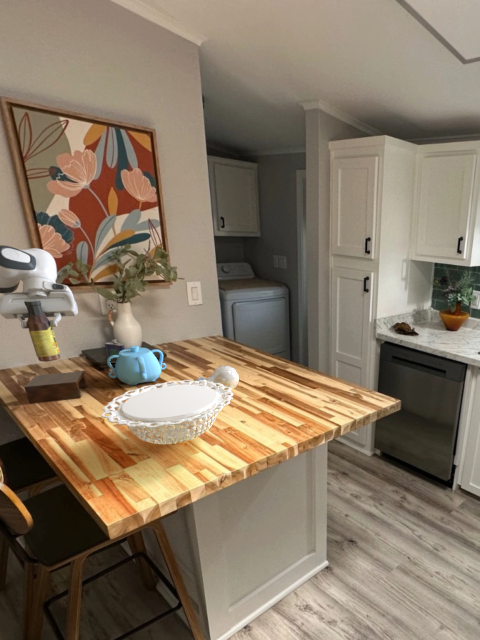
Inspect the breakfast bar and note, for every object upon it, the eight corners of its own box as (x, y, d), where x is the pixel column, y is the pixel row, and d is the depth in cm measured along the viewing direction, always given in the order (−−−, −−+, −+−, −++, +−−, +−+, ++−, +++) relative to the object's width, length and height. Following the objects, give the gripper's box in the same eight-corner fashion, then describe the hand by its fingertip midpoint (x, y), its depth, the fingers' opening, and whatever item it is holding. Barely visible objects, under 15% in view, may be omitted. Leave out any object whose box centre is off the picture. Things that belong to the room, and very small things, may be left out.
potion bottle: (243, 391, 155) (203, 404, 147) (231, 371, 158) (191, 384, 149) (244, 376, 148) (203, 390, 140) (232, 357, 151) (191, 369, 142)
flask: (107, 363, 175) (102, 339, 171) (113, 361, 178) (108, 337, 174) (125, 366, 173) (119, 341, 169) (130, 364, 176) (125, 339, 172)
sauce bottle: (65, 359, 139) (49, 300, 132) (43, 363, 134) (25, 302, 127) (55, 355, 142) (40, 298, 135) (34, 359, 137) (16, 300, 130)
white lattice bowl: (206, 408, 136) (200, 372, 132) (260, 440, 118) (256, 399, 113) (94, 442, 113) (83, 400, 109) (140, 488, 95) (128, 440, 90)
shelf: (29, 403, 135) (24, 387, 133) (40, 391, 145) (35, 375, 143) (80, 398, 141) (76, 381, 138) (87, 386, 151) (83, 371, 149)
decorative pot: (105, 385, 152) (96, 350, 147) (137, 371, 167) (130, 339, 162) (143, 389, 150) (136, 354, 145) (173, 375, 165) (167, 342, 159)
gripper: (-5, 287, 131) (-7, 323, 127) (73, 285, 139) (73, 319, 135) (5, 298, 137) (3, 334, 132) (79, 296, 145) (80, 330, 140)
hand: (39, 326), depth 133 cm, fingers closed on sauce bottle, 6 cm apart
